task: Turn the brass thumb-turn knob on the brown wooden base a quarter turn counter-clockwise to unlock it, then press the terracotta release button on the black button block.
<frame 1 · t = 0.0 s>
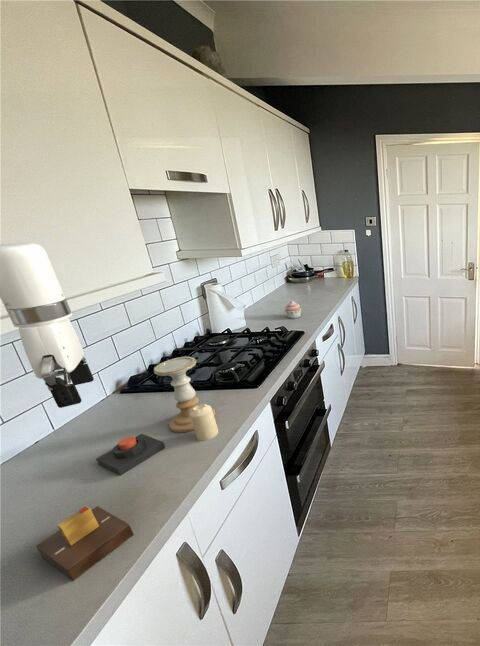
hand: (77, 393, 69), 30 cm above the worktop, tool pointing down, fingers open, 9 cm apart
candle holder: (193, 421, 110), on the worktop
candle: (208, 435, 103), on the worktop
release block: (133, 456, 95), on the worktop
cupcake: (294, 317, 200), on the worktop
lock knob: (78, 525, 69), point 6 cm above the worktop, hinge at 0.0°
brown wooden base: (89, 545, 71), on the worktop
release button: (127, 443, 94), point 5 cm above the worktop, slide at 0.1 cm
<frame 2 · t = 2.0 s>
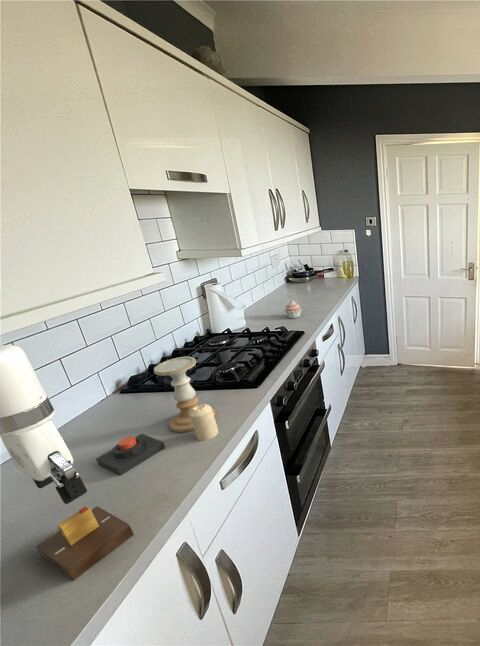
hand: (62, 490, 66), 15 cm above the worktop, tool pointing down, fingers open, 9 cm apart
nothing on the worktop moved.
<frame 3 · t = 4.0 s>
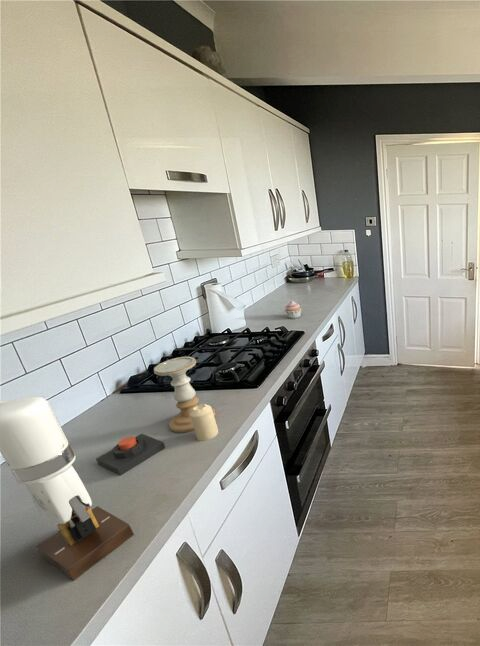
hand: (82, 533, 70), 3 cm above the worktop, tool pointing down, fingers closed on lock knob
lock knob: (78, 525, 69), point 6 cm above the worktop, hinge at 0.0°, touching gripper
everything else where it was.
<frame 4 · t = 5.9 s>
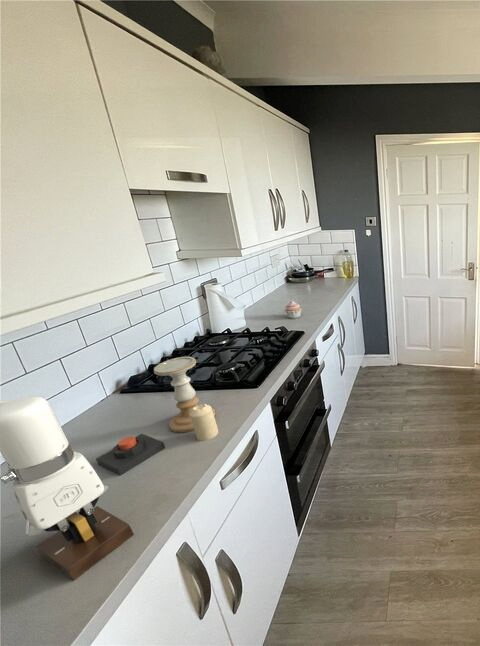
hand: (83, 533, 70), 3 cm above the worktop, tool pointing down, fingers closed
lock knob: (78, 525, 69), point 6 cm above the worktop, hinge at 89.8°
everything else where it was.
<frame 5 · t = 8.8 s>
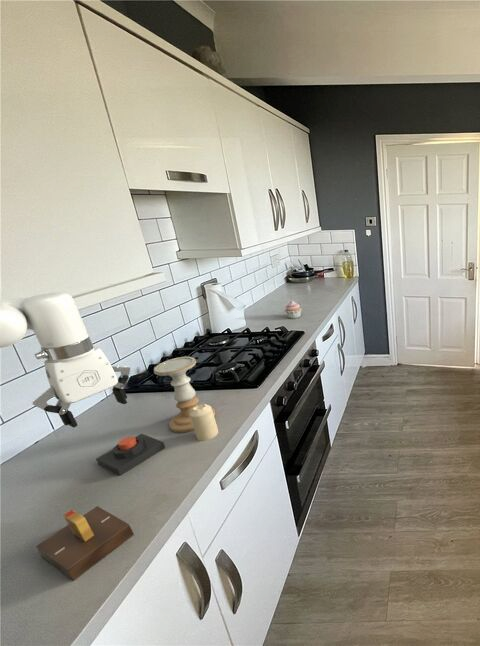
hand: (98, 413, 83), 19 cm above the worktop, tool pointing down, fingers open, 9 cm apart
nothing on the worktop moved.
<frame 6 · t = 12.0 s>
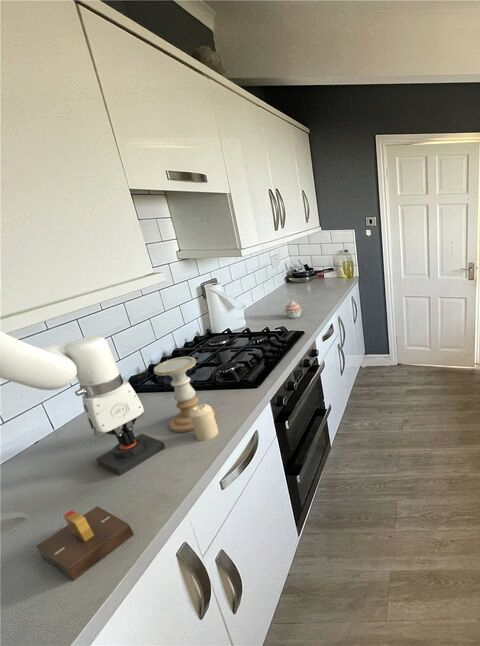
hand: (128, 443, 94), 4 cm above the worktop, tool pointing down, fingers closed
release button: (128, 446, 94), point 3 cm above the worktop, slide at -0.9 cm, touching gripper
everything else where it was.
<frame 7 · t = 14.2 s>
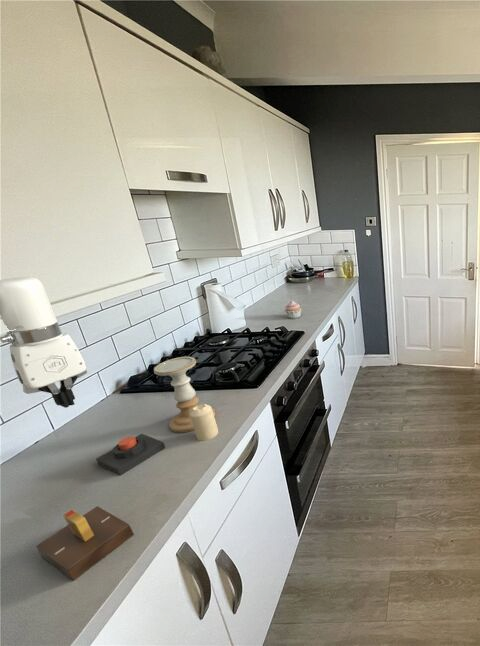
hand: (67, 404, 83), 21 cm above the worktop, tool pointing down, fingers closed
release button: (127, 443, 94), point 5 cm above the worktop, slide at 0.1 cm
everything else where it was.
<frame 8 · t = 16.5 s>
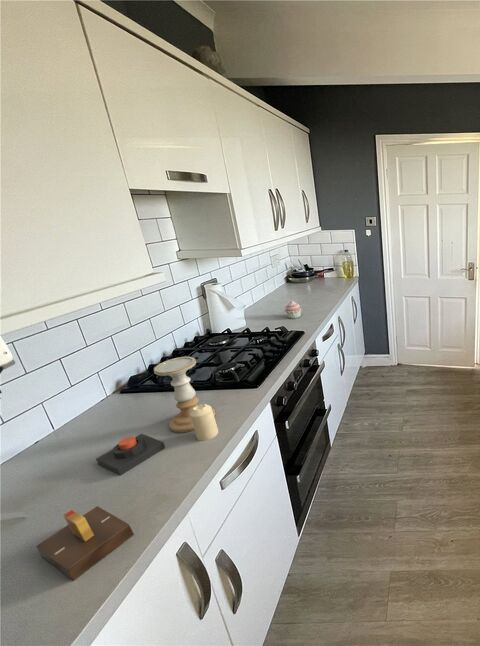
nothing on the worktop moved.
at the end: lock knob at +90° (first picture: +0°); release button pushed in 1.1 cm at the most during the clip, back to where it started at the end; release button slide at 0.1 cm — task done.
